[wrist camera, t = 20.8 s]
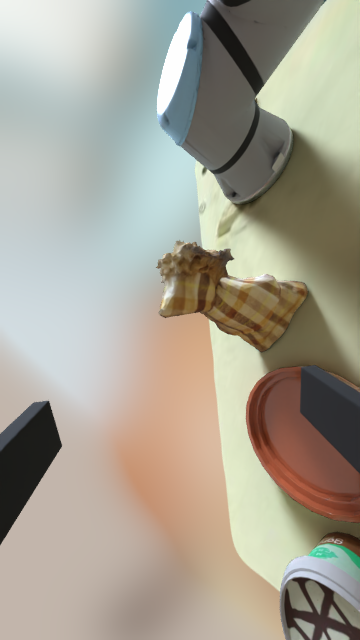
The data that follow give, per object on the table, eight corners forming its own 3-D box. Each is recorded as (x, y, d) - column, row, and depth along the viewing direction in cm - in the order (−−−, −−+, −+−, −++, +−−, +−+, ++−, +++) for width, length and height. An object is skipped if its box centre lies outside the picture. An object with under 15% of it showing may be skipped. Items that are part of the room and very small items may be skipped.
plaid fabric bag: (215, 316, 45) (119, 308, 26) (248, 260, 41) (161, 199, 22) (270, 355, 37) (191, 384, 18) (317, 290, 33) (279, 238, 14)
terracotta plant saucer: (246, 371, 38) (238, 372, 37) (370, 359, 25) (366, 359, 23) (266, 483, 33) (257, 490, 31) (437, 543, 20) (437, 561, 18)
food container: (345, 498, 25) (317, 542, 19) (409, 564, 21) (399, 649, 15) (291, 547, 29) (254, 597, 23) (336, 612, 25) (304, 695, 19)
